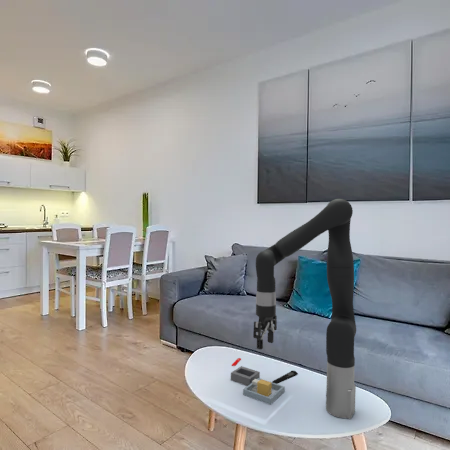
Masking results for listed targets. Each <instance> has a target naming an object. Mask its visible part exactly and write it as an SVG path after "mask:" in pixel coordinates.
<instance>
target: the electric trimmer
mask: <svg viewBox="0 0 450 450" xmlns="http://www.w3.org/2000/svg"><path fill="white" fill-rule="evenodd" d="M298 375H299V373H298V372H297V371H296V370H291V371H289V372H287V373H285V374H283V375H281V376H280V377H278V378H276V379H274V380H272V381H271V382H272V383H275V384H280V383H283V382H284V381H287V380H289V379H291V378H294V377H296V376H298Z"/></svg>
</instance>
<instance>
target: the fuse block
mask: <svg viewBox="0 0 450 450" xmlns="http://www.w3.org/2000/svg"><path fill="white" fill-rule="evenodd" d="M260 374H261V372H260V371H258V370H255V369H252V368H248V367H246V366H243V365H241V366H239V367H238V368H236V369H234V370H233V371H231V372H230V381H231V382H232V381H233V382H234V383H238V384H241V385H244V386H246V387H247V386H248V385H250V384H251V383H252V381H253V380H254V379H258V378H260V376H261V375H260ZM260 379H261V378H260Z"/></svg>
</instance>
